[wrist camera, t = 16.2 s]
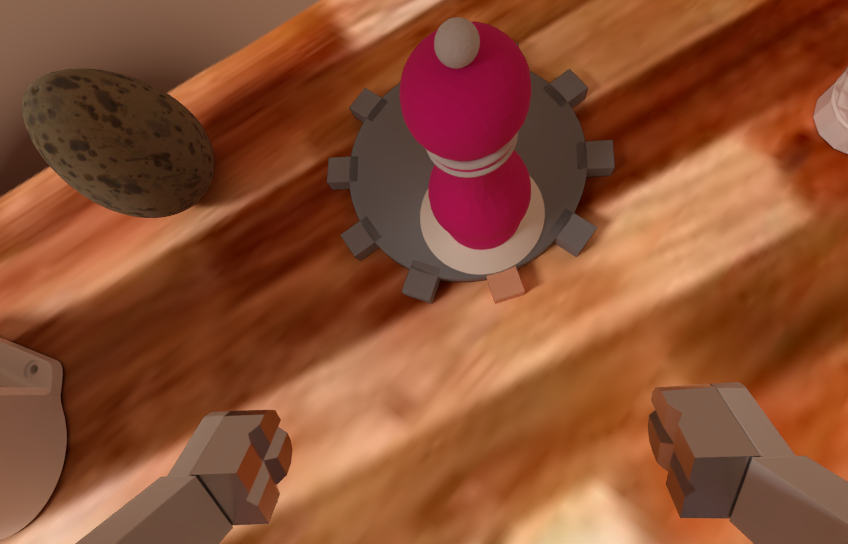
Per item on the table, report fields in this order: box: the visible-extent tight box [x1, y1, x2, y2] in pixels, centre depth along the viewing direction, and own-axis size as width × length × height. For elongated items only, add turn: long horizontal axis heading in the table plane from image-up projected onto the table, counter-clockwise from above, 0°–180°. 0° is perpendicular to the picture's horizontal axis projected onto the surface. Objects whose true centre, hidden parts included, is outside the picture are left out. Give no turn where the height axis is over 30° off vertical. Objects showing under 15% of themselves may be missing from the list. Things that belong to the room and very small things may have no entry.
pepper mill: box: [399, 17, 532, 250], centre depth 26 cm, size 7×7×20 cm
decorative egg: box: [22, 69, 215, 218], centre depth 36 cm, size 11×11×15 cm
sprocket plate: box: [327, 43, 615, 304], centre depth 37 cm, size 24×24×2 cm
